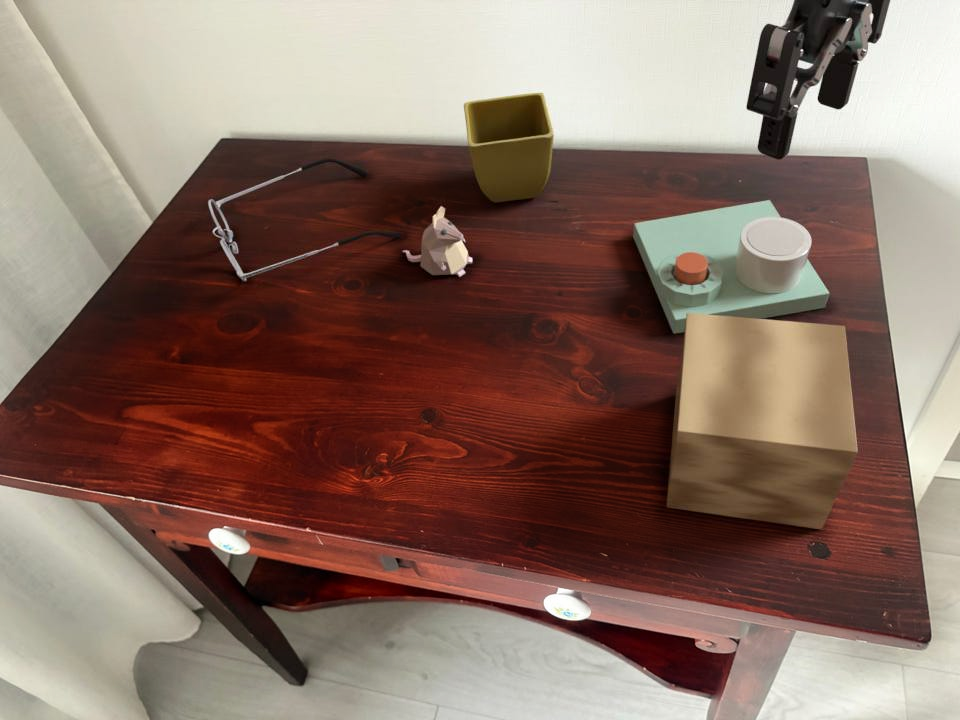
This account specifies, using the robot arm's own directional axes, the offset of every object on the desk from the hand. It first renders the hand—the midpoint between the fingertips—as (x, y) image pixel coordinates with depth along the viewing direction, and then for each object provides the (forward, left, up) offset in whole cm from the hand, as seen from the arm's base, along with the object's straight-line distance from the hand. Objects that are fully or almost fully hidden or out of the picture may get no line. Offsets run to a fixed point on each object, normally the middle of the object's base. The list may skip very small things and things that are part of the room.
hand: (802, 128), depth 58 cm
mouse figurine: (+28, +17, -17) cm, 37 cm away
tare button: (+5, +6, -14) cm, 16 cm away
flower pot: (+30, +3, -17) cm, 34 cm away
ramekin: (0, 0, -15) cm, 15 cm away
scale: (+4, +1, -17) cm, 17 cm away
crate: (-9, +18, -17) cm, 26 cm away
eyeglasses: (+43, +23, -17) cm, 52 cm away
